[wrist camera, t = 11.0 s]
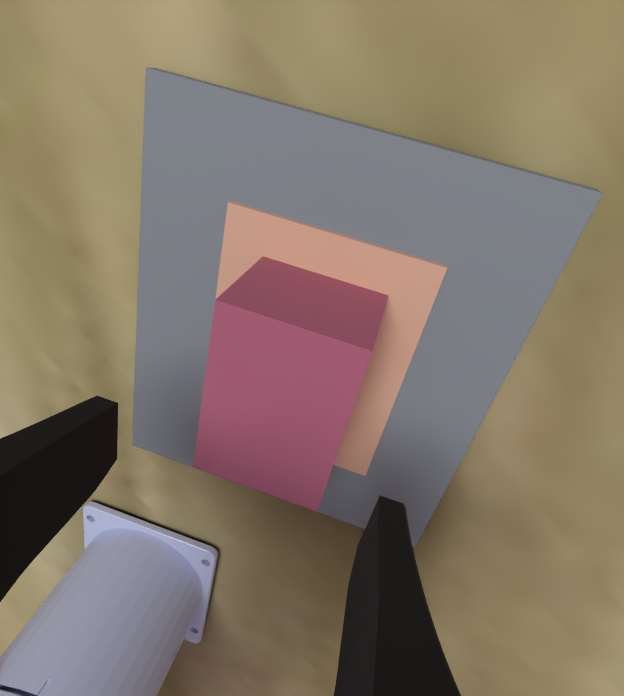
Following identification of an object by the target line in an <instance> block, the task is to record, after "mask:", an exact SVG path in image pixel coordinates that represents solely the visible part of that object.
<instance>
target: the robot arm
mask: <svg viewBox="0 0 624 696" xmlns="http://www.w3.org/2000/svg"><path fill="white" fill-rule="evenodd" d="M117 429H118V403H116V402H113V401H111V400H108V399H105V398H102V397H99V396H96V397H93V398H91V399H89V400H86V401H84V402H82V403H80V404H77V405H75V406H73V407H71V408H69V409H67V410H64V411H62V412H60V413H58V414H56V415H54V416H51V417H49V418H47V419H45V420H42V421H40V422H38V423H36V424H33V425H31V426H29V427H27V428H24V429H22V430H20V431H18V432H15V433H13V434H11V435H8V436H6V437H3V438H1V439H0V602H1V600H2V599H3V598H4V596H5V595H6V594H7V592H8V591H9V590H10V588H11V587H12V586H13V584H14V583H15V582H16V580H17V579H18V578H19V576H20V575H21V574H22V573H23V572H24V570H25V569H26V568H27V567H28V566H29V564H30V563H31V562H32V561H33V560H34V559H35V557H36V556H37V555H38V554H39V553H40V552H41V551H42V550H43V549H44V547H45V546H46V545H47V544H48V543H49V542H50V541H51V540H52V539H53V537H54V536H55V535H56V534H57V533H58V532H59V531H60V530H61V529H62V527H63V526H64V525H65V524H66V523H67V522H68V521H69V520H70V519H71V517H72V516H73V515H74V514H75V513H76V512H77V511H78V510H79V508H80V507H81V506H82V505H83V504H84V503H85V502H86V501H87V499H88V498H89V497H90V496H91V495H92V494H93V492H94V491H95V490H96V489H97V487H98V486H99V484H100V483H101V482H102V480H103V479H104V477H105V476H106V474H107V473H108V471H109V470H110V468H111V467H112V465H113V464H114V463H115V461H116V460H117ZM83 520H84V545H85V550H84V551H83V553H82V554H81V555H80V556H79V558H78V559H77V560H76V562H75V563H74V564H73V565H72V567H71V568H70V569H69V570H68V572H67V573H66V574H65V576H64V577H63V578H62V579H61V581H60V582H59V583H58V585H57V586H56V587H55V588H54V590H53V591H52V592H51V593H50V595H49V596H48V597H47V599H46V600H45V601H44V602H43V604H42V605H41V606H40V607H39V609H38V610H37V611H36V613H35V614H34V615H33V616H32V618H31V619H30V620H29V621H28V623H27V624H26V625H25V627H24V628H23V629H22V630H21V632H20V633H19V634H18V636H17V637H16V638H15V639H14V641H13V642H12V643H11V644H10V646H9V647H8V648H7V650H6V651H5V652H4V653H3V655H2V656H1V657H0V696H157V695H158V693H159V690H160V688H161V686H162V684H163V682H164V680H165V678H166V676H167V674H168V672H169V670H170V667H171V665H172V663H173V661H174V659H175V657H176V655H177V653H178V651H179V649H180V646H181V644H182V642H183V640H187V641H189V642H192V643H199V642H200V641H201V638H202V636H203V630H204V625H205V620H206V615H207V610H208V604H209V599H210V594H211V589H212V584H213V578H214V573H215V568H216V563H217V558H218V552H217V551H216V549H215V548H213V547H211V546H209V545H206V544H204V543H201V542H199V541H196V540H193V539H191V538H188V537H185V536H183V535H180V534H177V533H175V532H172V531H169V530H167V529H164V528H162V527H159V526H156V525H154V524H151V523H148V522H146V521H143V520H140V519H138V518H135V517H132V516H130V515H127V514H124V513H122V512H119V511H117V510H114V509H111V508H109V507H106V506H103V505H101V504H98V503H95V502H88V503H87V504H86V505H85V506H84V508H83ZM334 696H461V695H460V692H459V690H458V688H457V685H456V683H455V681H454V678H453V676H452V673H451V671H450V668H449V666H448V663H447V661H446V658H445V655H444V653H443V650H442V647H441V644H440V642H439V639H438V636H437V633H436V630H435V627H434V624H433V621H432V618H431V615H430V612H429V608H428V605H427V602H426V598H425V595H424V591H423V588H422V584H421V580H420V576H419V573H418V569H417V565H416V561H415V556H414V552H413V547H412V542H411V537H410V532H409V526H408V520H407V513H406V507H405V506H404V504H403V503H400V502H398V501H395V500H392V499H389V498H386V497H383V496H381V495H380V496H379V498H378V500H377V503H376V505H375V507H374V510H373V512H372V514H371V517H370V519H369V521H368V524H367V526H366V528H365V531H364V533H363V535H362V538H361V540H360V542H359V545H358V547H357V551H356V556H355V560H354V564H353V568H352V573H351V577H350V581H349V586H348V593H347V601H346V608H345V616H344V624H343V632H342V640H341V648H340V656H339V664H338V672H337V680H336V686H335V692H334Z"/></svg>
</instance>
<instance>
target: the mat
mask: <svg viewBox="0 0 624 696" xmlns="http://www.w3.org/2000/svg"><path fill="white" fill-rule="evenodd" d="M602 194H603V193H602V192H600V191H599V190H598V189H594V188H591V187H587V186H583V185H580V184H576V183H572V182H569V181H565V180H562V179H558V178H554V177H551V176H547V175H543V174H540V173H536V172H532V171H529V170H525V169H522V168H518V167H514V166H511V165H507V164H503V163H500V162H496V161H492V160H489V159H485V158H481V157H478V156H474V155H471V154H467V153H463V152H460V151H456V150H452V149H449V148H445V147H441V146H438V145H434V144H430V143H427V142H423V141H420V140H416V139H412V138H409V137H405V136H401V135H398V134H394V133H390V132H387V131H383V130H379V129H376V128H372V127H369V126H365V125H361V124H358V123H354V122H350V121H347V120H343V119H339V118H336V117H332V116H329V115H325V114H321V113H318V112H314V111H310V110H307V109H303V108H299V107H296V106H292V105H288V104H285V103H281V102H278V101H274V100H270V99H267V98H263V97H259V96H256V95H252V94H248V93H245V92H241V91H237V90H234V89H230V88H227V87H223V86H219V85H216V84H212V83H208V82H205V81H201V80H197V79H194V78H190V77H186V76H183V75H179V74H176V73H172V72H168V71H165V70H161V69H157V68H146V81H145V109H144V137H143V165H142V192H141V220H140V248H139V276H138V304H137V331H136V359H135V387H134V415H133V443H132V445H133V446H136V447H139V448H142V449H145V450H147V451H150V452H153V453H156V454H158V455H161V456H164V457H167V458H169V459H172V460H175V461H178V462H180V463H183V464H186V465H189V466H192V467H193V463H194V456H195V448H196V441H197V433H198V426H199V418H200V411H201V403H202V396H203V388H204V380H205V373H206V365H207V358H208V350H209V343H210V335H211V328H212V320H213V313H214V305H215V300H216V299H217V298H218V297H219V296H220V295H221V294H222V293H223V292H224V291H225V290H227V289H228V288H229V287H230V286H231V285H232V284H233V283H234V282H235V281H236V280H237V279H239V278H240V277H241V276H242V275H243V274H244V273H245V272H246V271H247V270H248V269H250V268H251V267H252V266H253V265H254V264H255V263H256V262H257V261H258V260H259V259H260V258H262V257H263V256H264V257H267V258H271V259H274V260H277V261H280V262H283V263H287V264H290V265H293V266H296V267H299V268H303V269H306V270H309V271H312V272H315V273H319V274H322V275H325V276H328V277H331V278H335V279H338V280H341V281H344V282H347V283H351V284H354V285H357V286H360V287H363V288H366V289H370V290H373V291H376V292H379V293H382V294H386V295H388V298H387V302H386V305H385V309H384V312H383V316H382V319H381V323H380V326H379V330H378V333H377V337H376V340H375V344H374V347H373V351H372V354H371V357H370V360H369V363H368V365H367V368H366V371H365V374H364V377H363V380H362V383H361V386H360V389H359V392H358V394H357V397H356V400H355V403H354V406H353V409H352V412H351V415H350V418H349V421H348V423H347V426H346V429H345V432H344V435H343V438H342V441H341V444H340V447H339V450H338V453H337V455H336V458H335V461H334V464H333V467H332V470H331V473H330V476H329V479H328V482H327V484H326V487H325V490H324V493H323V496H322V499H321V502H320V505H319V508H318V511H317V512H319V513H321V514H324V515H327V516H330V517H332V518H335V519H338V520H341V521H344V522H346V523H349V524H352V525H355V526H357V527H360V528H363V529H365V528H366V526H367V524H368V521H369V519H370V517H371V514H372V512H373V510H374V507H375V505H376V503H377V500H378V498H379V496H380V495H381V496H383V497H386V498H389V499H392V500H395V501H398V502H400V503H403V504H404V506H405V507H406V513H407V520H408V526H409V532H410V537H411V542H412V546H413V547H416V545H417V543H418V541H419V540H420V538H421V536H422V534H423V532H424V530H425V528H426V526H427V524H428V523H429V521H430V519H431V517H432V515H433V513H434V511H435V509H436V507H437V506H438V504H439V502H440V500H441V498H442V496H443V494H444V492H445V491H446V489H447V487H448V485H449V483H450V481H451V479H452V477H453V475H454V474H455V472H456V470H457V468H458V466H459V464H460V462H461V460H462V458H463V457H464V455H465V453H466V451H467V449H468V447H469V445H470V443H471V441H472V440H473V438H474V436H475V434H476V432H477V430H478V428H479V426H480V424H481V423H482V421H483V419H484V417H485V415H486V413H487V411H488V409H489V407H490V406H491V404H492V402H493V400H494V398H495V396H496V394H497V392H498V390H499V389H500V387H501V385H502V383H503V381H504V379H505V377H506V375H507V373H508V372H509V370H510V368H511V366H512V364H513V362H514V360H515V358H516V356H517V355H518V353H519V351H520V349H521V347H522V345H523V343H524V341H525V339H526V338H527V336H528V334H529V332H530V330H531V328H532V326H533V324H534V322H535V321H536V319H537V317H538V315H539V313H540V311H541V309H542V307H543V305H544V304H545V302H546V300H547V298H548V296H549V294H550V292H551V290H552V288H553V287H554V285H555V283H556V281H557V279H558V277H559V275H560V273H561V271H562V270H563V268H564V266H565V264H566V262H567V260H568V258H569V256H570V254H571V253H572V251H573V249H574V247H575V245H576V243H577V241H578V239H579V237H580V236H581V234H582V232H583V230H584V228H585V226H586V224H587V222H588V220H589V219H590V217H591V215H592V213H593V211H594V209H595V207H596V205H597V203H598V202H599V200H600V198H601V196H602ZM194 468H195V467H194ZM197 469H198V468H197ZM200 470H201V469H200ZM205 472H206V471H205ZM208 473H209V472H208ZM211 474H212V473H211ZM216 476H217V475H216ZM219 477H220V476H219ZM222 478H223V477H222ZM227 480H228V479H227ZM230 481H231V480H230ZM233 482H234V481H233ZM241 485H242V484H241ZM244 486H245V485H244ZM252 489H253V488H252ZM255 490H256V489H255ZM263 493H264V492H263ZM266 494H267V493H266ZM274 497H275V496H274ZM277 498H278V497H277ZM288 502H289V501H288ZM299 506H300V505H299ZM310 510H311V509H310Z"/></svg>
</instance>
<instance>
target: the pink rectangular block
mask: <svg viewBox="0 0 624 696" xmlns="http://www.w3.org/2000/svg"><path fill="white" fill-rule="evenodd" d="M387 298H388V295H386V294H382V293H379V292H376V291H373V290H370V289H366V288H363V287H360V286H357V285H354V284H351V283H347V282H344V281H341V280H338V279H335V278H331V277H328V276H325V275H322V274H319V273H315V272H312V271H309V270H306V269H303V268H299V267H296V266H293V265H290V264H287V263H283V262H280V261H277V260H274V259H271V258H267V257H264V256H263V257H262V258H260V259H259V260H258V261H257V262H256V263H255V264H254V265H253V266H252V267H251V268H250V269H248V270H247V271H246V272H245V273H244V274H243V275H242V276H241V277H240V278H239V279H237V280H236V281H235V282H234V283H233V284H232V285H231V286H230V287H229V288H228V289H227V290H225V291H224V292H223V293H222V294H221V295H220V296H219V297H218V298H217V299H216V300H215V305H214V313H213V320H212V328H211V335H210V343H209V350H208V358H207V365H206V373H205V380H204V388H203V396H202V403H201V411H200V418H199V426H198V433H197V441H196V448H195V456H194V463H193V467H195V468H198V469H201V470H203V471H206V472H209V473H212V474H214V475H217V476H220V477H223V478H225V479H228V480H231V481H234V482H236V483H239V484H242V485H245V486H247V487H250V488H253V489H256V490H258V491H261V492H264V493H267V494H269V495H272V496H275V497H278V498H280V499H283V500H286V501H289V502H291V503H294V504H297V505H300V506H302V507H305V508H308V509H311V510H313V511H316V512H317V511H318V508H319V505H320V502H321V499H322V496H323V493H324V490H325V487H326V484H327V482H328V479H329V476H330V473H331V470H332V467H333V464H334V461H335V458H336V455H337V453H338V450H339V447H340V444H341V441H342V438H343V435H344V432H345V429H346V426H347V423H348V421H349V418H350V415H351V412H352V409H353V406H354V403H355V400H356V397H357V394H358V392H359V389H360V386H361V383H362V380H363V377H364V374H365V371H366V368H367V365H368V363H369V360H370V357H371V354H372V351H373V347H374V344H375V340H376V337H377V333H378V330H379V326H380V323H381V319H382V316H383V312H384V309H385V305H386V302H387Z"/></svg>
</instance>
